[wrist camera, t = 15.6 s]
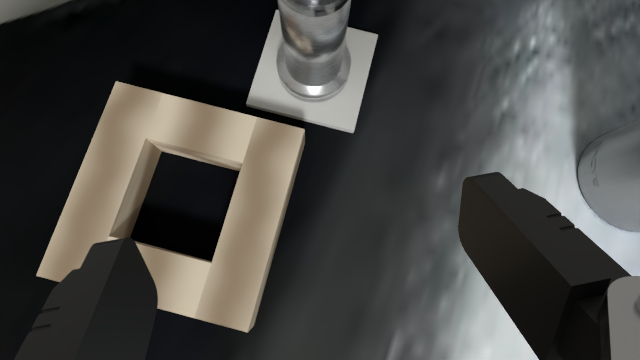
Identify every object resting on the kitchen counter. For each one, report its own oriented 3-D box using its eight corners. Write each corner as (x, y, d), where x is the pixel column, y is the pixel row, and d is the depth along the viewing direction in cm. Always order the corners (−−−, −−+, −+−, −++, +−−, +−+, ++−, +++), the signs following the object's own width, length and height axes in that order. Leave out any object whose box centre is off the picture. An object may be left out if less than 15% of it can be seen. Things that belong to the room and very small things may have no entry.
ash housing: (304, 142, 35) (304, 129, 32) (254, 325, 32) (247, 332, 28) (134, 99, 36) (116, 81, 32) (64, 275, 32) (36, 275, 29)
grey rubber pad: (376, 38, 38) (378, 34, 37) (353, 133, 36) (353, 131, 35) (276, 13, 38) (276, 9, 38) (246, 106, 36) (245, 103, 35)
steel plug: (357, 47, 37) (378, -58, 25) (338, 110, 35) (352, 29, 24) (289, 30, 37) (279, -83, 25) (268, 91, 36) (247, 2, 24)
